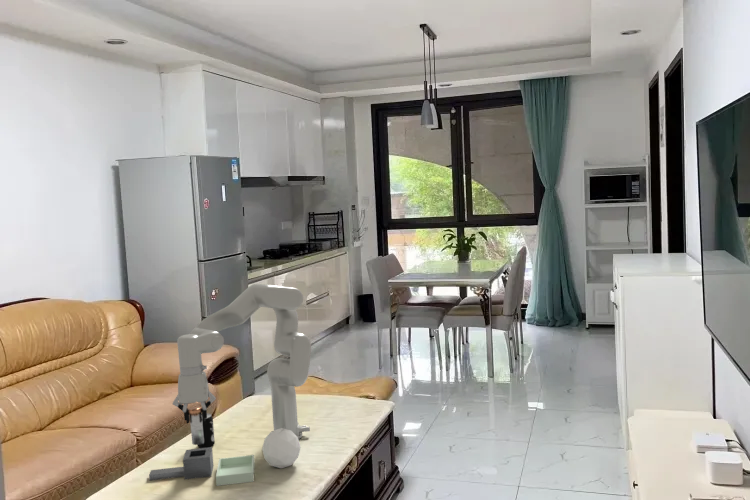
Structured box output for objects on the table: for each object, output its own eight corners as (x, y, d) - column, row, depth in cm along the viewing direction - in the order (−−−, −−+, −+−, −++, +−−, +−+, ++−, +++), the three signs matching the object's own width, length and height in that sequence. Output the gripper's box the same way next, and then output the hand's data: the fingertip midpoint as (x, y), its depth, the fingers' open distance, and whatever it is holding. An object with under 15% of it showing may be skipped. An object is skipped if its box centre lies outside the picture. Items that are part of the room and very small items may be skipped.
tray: (219, 467, 235) (219, 458, 235) (254, 463, 237) (254, 454, 237) (216, 485, 220) (215, 476, 220) (253, 481, 222) (252, 472, 222)
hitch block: (213, 465, 237) (212, 447, 236) (211, 476, 228) (209, 456, 227) (152, 472, 234) (151, 453, 233) (148, 483, 225) (146, 463, 224)
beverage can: (210, 449, 253) (207, 419, 251) (194, 449, 254) (192, 418, 253) (217, 442, 259) (215, 413, 258) (202, 442, 260) (199, 412, 259)
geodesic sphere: (267, 439, 244) (261, 418, 235) (304, 438, 244) (299, 417, 235) (263, 475, 234) (256, 455, 224) (301, 474, 233) (296, 453, 224)
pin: (205, 439, 234) (202, 405, 233) (204, 444, 229) (201, 410, 228) (191, 440, 233) (188, 407, 232) (190, 445, 228) (187, 411, 227)
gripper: (217, 364, 233) (221, 414, 235) (167, 369, 231) (172, 420, 233) (215, 370, 226) (220, 422, 228) (164, 376, 224) (169, 427, 225)
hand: (196, 420), depth 230 cm, fingers closed on pin, 4 cm apart
